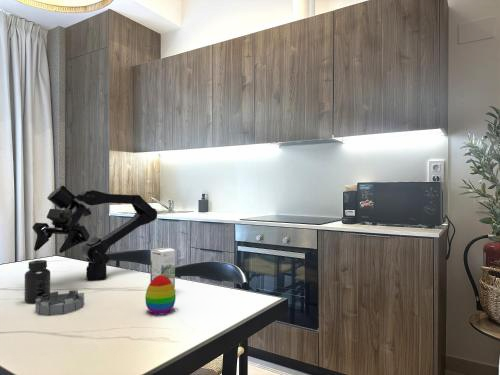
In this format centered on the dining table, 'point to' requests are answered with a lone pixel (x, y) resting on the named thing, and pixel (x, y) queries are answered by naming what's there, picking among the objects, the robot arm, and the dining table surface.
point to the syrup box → (163, 263)
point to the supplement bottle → (37, 281)
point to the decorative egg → (160, 295)
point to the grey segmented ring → (69, 300)
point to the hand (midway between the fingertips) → (47, 251)
